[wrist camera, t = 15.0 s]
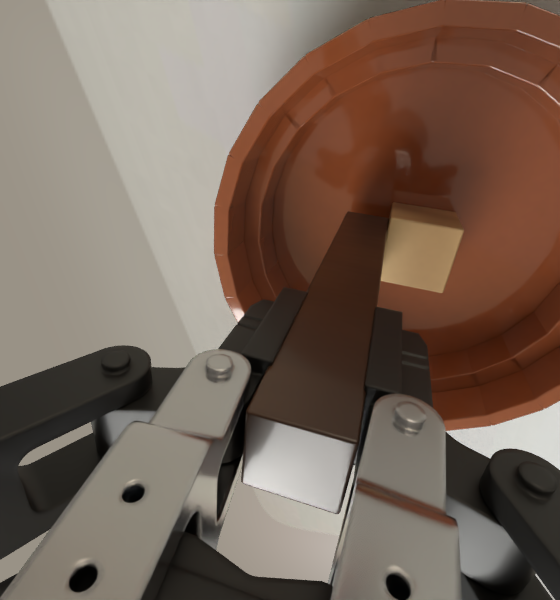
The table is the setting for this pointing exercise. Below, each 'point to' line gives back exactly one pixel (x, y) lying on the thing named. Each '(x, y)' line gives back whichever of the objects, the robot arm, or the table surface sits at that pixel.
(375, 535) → the robot arm
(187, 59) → the table surface
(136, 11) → the table surface
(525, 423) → the table surface
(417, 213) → the block
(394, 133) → the bowl
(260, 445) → the stick
